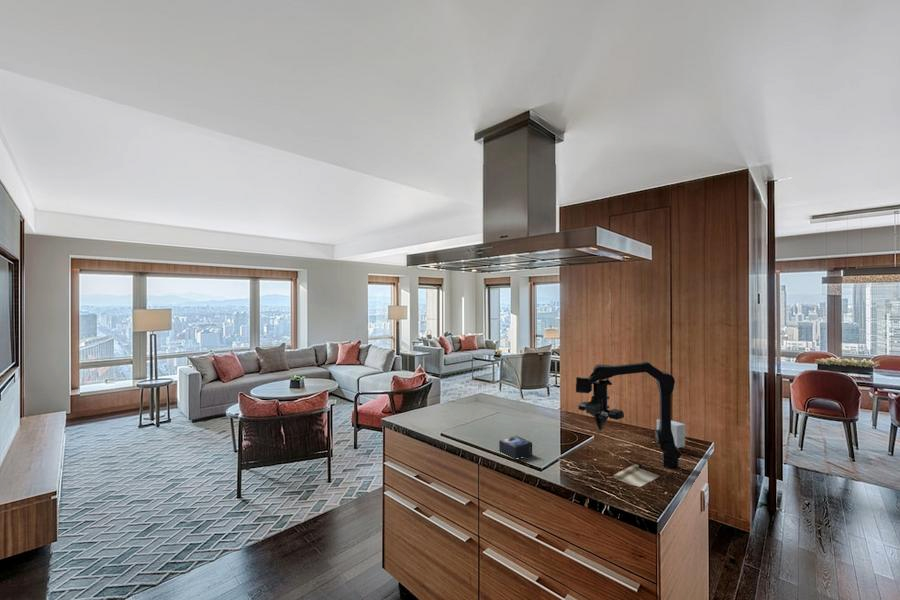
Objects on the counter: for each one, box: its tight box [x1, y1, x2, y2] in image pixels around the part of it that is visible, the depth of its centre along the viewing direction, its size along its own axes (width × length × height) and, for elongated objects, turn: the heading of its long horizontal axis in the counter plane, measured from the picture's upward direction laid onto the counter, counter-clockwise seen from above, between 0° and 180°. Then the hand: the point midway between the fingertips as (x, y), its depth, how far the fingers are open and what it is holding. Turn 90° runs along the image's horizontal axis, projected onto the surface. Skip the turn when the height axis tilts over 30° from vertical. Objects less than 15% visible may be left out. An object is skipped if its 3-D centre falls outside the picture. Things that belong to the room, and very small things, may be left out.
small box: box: [498, 435, 533, 459], centre depth 167 cm, size 11×6×10 cm
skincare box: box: [656, 418, 686, 449], centre depth 180 cm, size 10×6×10 cm, turn 27°
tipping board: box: [613, 463, 661, 488], centre depth 145 cm, size 16×10×2 cm, turn 126°
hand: (600, 429), depth 164 cm, fingers closed
